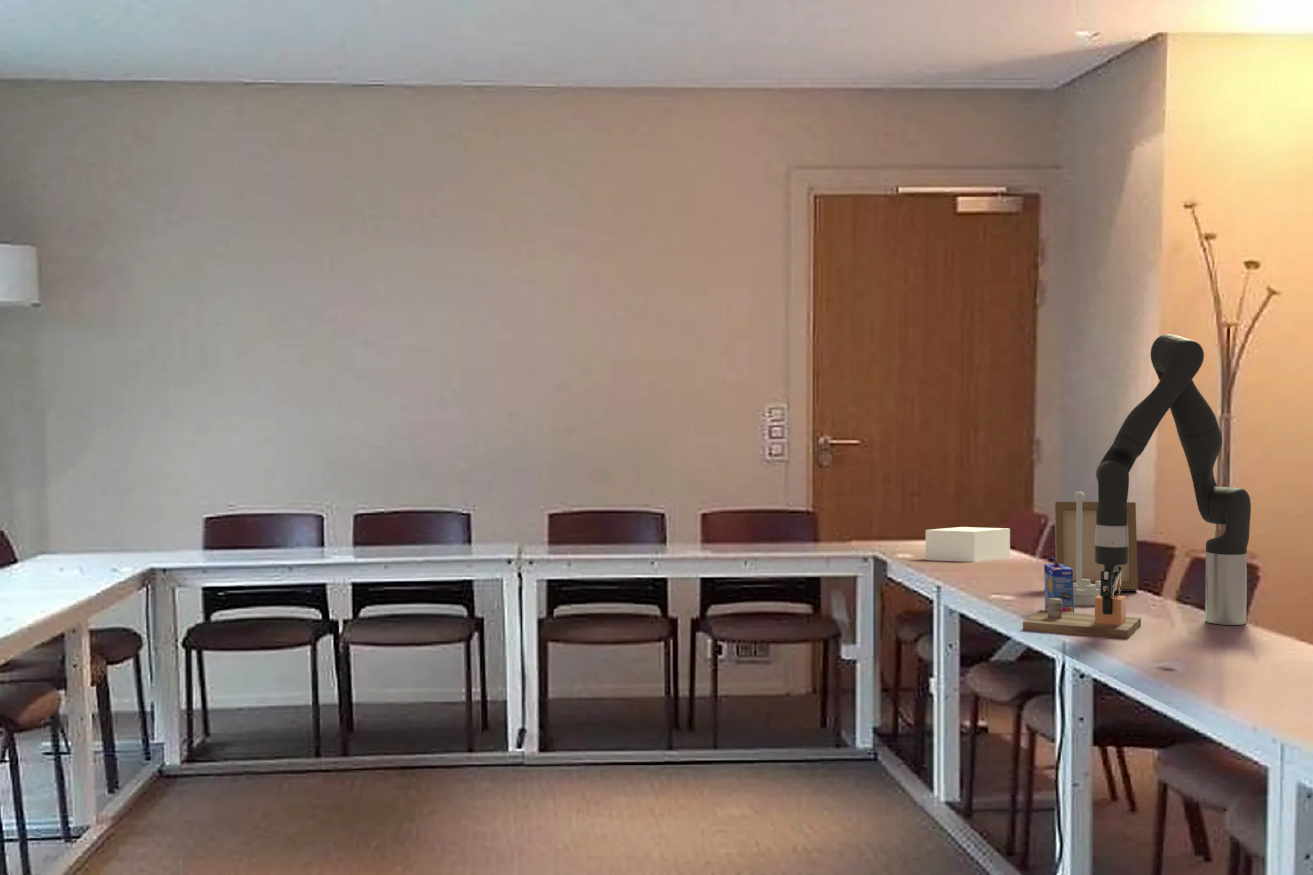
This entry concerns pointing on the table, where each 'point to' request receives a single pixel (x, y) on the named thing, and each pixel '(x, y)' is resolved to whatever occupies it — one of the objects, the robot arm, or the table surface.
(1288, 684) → the table surface
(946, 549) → the white rectangular box
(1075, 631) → the base plate
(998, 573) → the table surface
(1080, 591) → the flag stand
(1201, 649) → the table surface
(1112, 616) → the orange cube
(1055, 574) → the ink cartridge box
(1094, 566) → the photo frame
